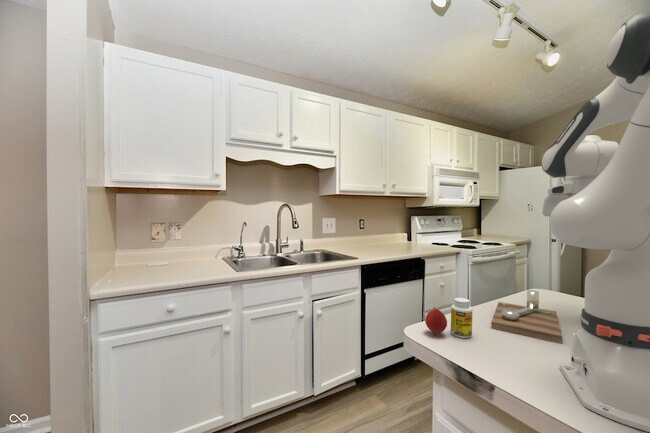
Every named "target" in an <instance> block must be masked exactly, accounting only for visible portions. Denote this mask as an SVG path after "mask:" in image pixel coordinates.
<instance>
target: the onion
mask: <svg viewBox="0 0 650 433" xmlns="http://www.w3.org/2000/svg"><path fill="white" fill-rule="evenodd" d="M424 322H425V325H426V327H427V328H428V330H430V331H431V332H432V333H433V335H438V334H439V335H440V334H441V333H443V332H444V331H445V330H446V328H447V327H448V320H447V317H446V315H445V314H444V313H443V312H442V311H441V310H440V309H439V308H438V307H437V306H433V309H432V310H431V309H430V311H428V312H427V314H426V315H425V319H424Z"/></svg>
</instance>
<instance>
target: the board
mask: <svg viewBox="0 0 650 433" xmlns="http://www.w3.org/2000/svg"><path fill="white" fill-rule="evenodd" d="M526 307H527V305H519V304H513V303H507V302H501V301H498V303H497V305H496V308H495V311H494V312H493V315H492V320H491V324H490V329H492V330H497V331H502V332H507V333H511V334H515V335H520V336H525V337H530V338H532V339H533V338H534V339H539V340H543V341H547V342H553V343H556V344H562V342H563V334H562V330H561V327H560V322H559V319H558V314H557V311H556V310H555V311H554V310H549V309H546V308H538V309H535V311H533V312H530V313H527V314H524V315H521V316H519V319H518V320H510V319H506V318H504V317H502V310H503V309H511V310H515V311H517V310H520V309H523V308H526Z"/></svg>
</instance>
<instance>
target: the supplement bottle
mask: <svg viewBox="0 0 650 433" xmlns="http://www.w3.org/2000/svg"><path fill="white" fill-rule="evenodd" d="M470 304H471V303H470V300H469V299H468V298H465V297H455V298H454V299H453V304H452V305H451V306H450V310H451V311H450V333H451V334H452V335H453V336H455V337H457V338H460V339H469V338H472V336H473V308H472V306H471V305H470Z"/></svg>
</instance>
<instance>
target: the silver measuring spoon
mask: <svg viewBox="0 0 650 433" xmlns="http://www.w3.org/2000/svg"><path fill="white" fill-rule="evenodd" d="M539 302H540V292H539V291H537V290H532V289H530V290H529V289H527V290H526V306H527V307H526V308H523V309H520V310H517V311H515V310H511V309H503V310H502V317H504V318H506V319H510V320H518V319H519V316H521V315H524V314H527V313H530V312H533V311H535V309H538V308H539V306H540V305H539V304H540V303H539ZM539 309H540V308H539Z"/></svg>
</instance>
